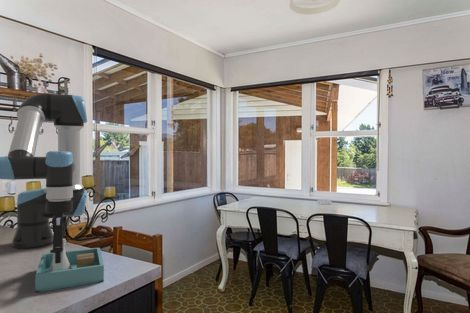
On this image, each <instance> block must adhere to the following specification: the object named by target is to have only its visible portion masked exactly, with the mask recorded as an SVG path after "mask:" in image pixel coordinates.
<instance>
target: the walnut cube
mask: <svg viewBox="0 0 470 313" xmlns="http://www.w3.org/2000/svg"><path fill="white" fill-rule="evenodd" d="M88 266H94V253H89V254H80V255H77V268H81V267H88Z"/></svg>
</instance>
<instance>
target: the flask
mask: <svg viewBox="0 0 470 313" xmlns="http://www.w3.org/2000/svg"><path fill="white" fill-rule="evenodd" d="M66 244H67V243H66V242H65V243H64V242H63V270H67V269H72V268H71V265H70V263H69V261H68V259H67V256H66V253H65V252H66ZM56 248H59V247H56ZM52 271H53V260H52V262H51V265H50V267H49V270H48V272H52Z"/></svg>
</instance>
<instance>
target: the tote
mask: <svg viewBox="0 0 470 313" xmlns="http://www.w3.org/2000/svg"><path fill="white" fill-rule="evenodd" d="M65 253H66V256H67V259H68V261H69V263H70V265H71V268H72V269H67V270H60V271H52V272H48V270H49V267H50V265H51V262H52V260H53V253H48V252H47V253H43V254H42V255H41V257H40V260H39V263H38V266H37V269H36V271H35V276H34V278H35V279H34V280H35V281H34V285H35V286H34V289H35V290H34V291H35V293H41V292H47V291H52V290H54V291H55V290H61V289H66V288H71V287H78V286H84V285H90V284H96V283H103V282H104V280H105V278H104V277H105V272H104V271H105V270H104V268H105V266H104V260H103V256H102V251H101V248H100V247H92V248H85V249H84V248H83V249H75V250H67V251H66V250H65ZM89 253H94V266H88V267H81V268H77V255H80V254H89Z"/></svg>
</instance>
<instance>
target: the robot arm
mask: <svg viewBox="0 0 470 313" xmlns="http://www.w3.org/2000/svg"><path fill="white" fill-rule="evenodd" d="M87 115H88V114H87V110H86V102H85V99H84V97H83V96H82V95H81V96H80V95H75V94H61V93H48V92H41V93H36V94H33V95H32V96H30V97H28V98H27V99H25V100H23V101H22V102H21V104H20V105H19V106H18V108H17V112H16V118H17V123H16V125H15V126H16V127H15V130H14V133H13V136H12V140H11V143H10V145H9V146H10V147H9V151H8V154H7V155H5V156H0V180H11V181H14V180H15V181H16V180H17V181H18V180H45V187H44V188H35V189H34V188H33V189H30V190H29V189H28V190H24V191H21V192H20V193H19V194H17V199H16V200H17V202H16V213H17V214H16V217H17V219H16V221H17V222H16V224H17V225H16V229H15V231H14V235H13V238H12V241H11V247H12V248H15V249H31V248H32V249H33V248H38V247H42V246H43V247H45V246H47V245H50V244H52V249H50V251H49V252H50V253H53V271H60V270H63V242H64V243H66V239H68V235H66V226H67V221H68V220H67V218H70V217H71V218H73V217H80V216H83V215H84V213H85V209H86V205H87V204H86V203H87V195H88V190H86V189H84V188H85V187H84V185H83V184H82V183H81V130H82V129H83V128H84V127H85V124H86V123H87V122H88V118H87V117H88V116H87ZM45 121H48V122H53V126H54V128H56V129H57V151H56V150H55V151H50V150H49V151H47V152H46V153H45V156H35V155H36V152H37V145H38V140H39V136H40V131H41V125H42V124H44V122H45ZM50 219H51V225H52V228H51V225H50ZM56 247H59V248H56Z"/></svg>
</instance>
